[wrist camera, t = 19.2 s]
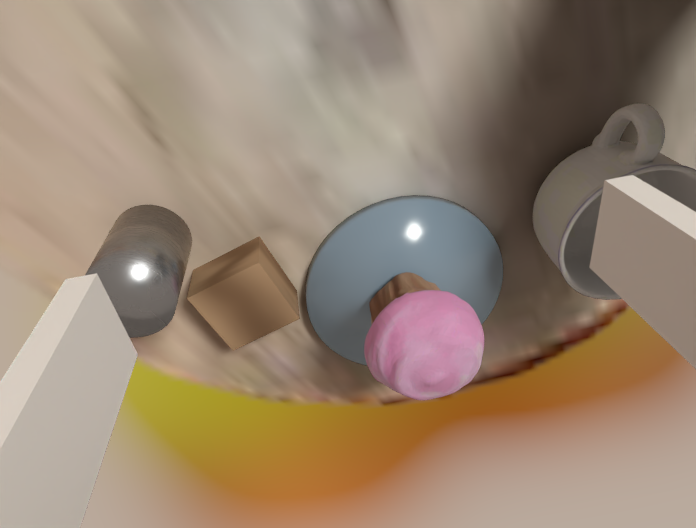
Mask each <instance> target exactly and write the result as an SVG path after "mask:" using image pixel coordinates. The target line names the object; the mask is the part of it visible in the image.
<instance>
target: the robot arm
mask: <svg viewBox="0 0 696 528" xmlns="http://www.w3.org/2000/svg"><path fill="white" fill-rule="evenodd" d="M589 268H590V269H591V270H593V271H594V272H595V273H596V274H597V275H598V276H599V277H600V278H601V279H602V280H603V281H604V282H605V283H606V284H607V285H608V286H609V287H610V288H611V289H612V290H613V291H615V292H616V293H617V294H618V295H619V296H620V297H621V298H622V299H623V300H624V301H625V302H626V303H627V304H628V305H629V306H630V307H631V308H632V309H633V310H634V311H636V312H637V313H638V314H639V315H640V316H641V317H642V318H643V319H644V320H645V321H646V322H647V323H648V324H649V325H650V326H651V327H652V328H653V329H654V330H655V331H656V332H658V333H659V334H660V335H661V336H662V337H663V338H664V339H665V340H666V341H667V342H668V343H669V344H670V345H671V346H672V347H673V348H674V349H675V350H676V351H677V352H679V353H680V354H681V355H682V356H683V357H684V358H685V359H686V360H687V361H688V362H689V363H690V364H691V365H692V366H693V367H694V368H695V369H696V212H695V211H693V210H692V209H690V208H688V207H687V206H685V205H683V204H681V203H680V202H678V201H676V200H675V199H673V198H671V197H670V196H668V195H666V194H664V193H663V192H661V191H659V190H658V189H656V188H654V187H652V186H651V185H649V184H647V183H646V182H644V181H642V180H641V179H639V178H637V177H635V176H634V175H630V176H624V177H619V178H613V179H608V180H605V181H604V187H603V193H602V198H601V204H600V210H599V216H598V221H597V227H596V233H595V238H594V244H593V250H592V256H591V261H590V267H589ZM137 356H138V354H137V352H136V350H135V348H134V346H133V344H132V342H131V340H130V338H129V336H128V334H127V332H126V330H125V328H124V326H123V324H122V322H121V320H120V318H119V316H118V314H117V312H116V310H115V308H114V306H113V304H112V302H111V300H110V298H109V296H108V294H107V292H106V290H105V288H104V286H103V284H102V282H101V280H100V278H99V276H98V274H97V273H96V274H91V275H85V276H80V277H75V278H69V279H65V281H64V283H63V284H62V286H61V287H60V289H59V290H58V292H57V294H56V295H55V297H54V298H53V300H52V301H51V303H50V305H49V306H48V308H47V309H46V311H45V312H44V314H43V316H42V317H41V319H40V320H39V322H38V323H37V325H36V326H35V328H34V330H33V331H32V333H31V334H30V336H29V337H28V339H27V341H26V343H25V344H24V345H23V347H22V348H21V350H20V352H19V353H18V355H17V356H16V358H15V360H14V361H13V363H12V364H11V366H10V367H9V369H8V370H7V372H6V374H5V375H4V377H3V378H2V380H1V381H0V528H80V527H81V524H82V521H83V518H84V515H85V512H86V509H87V506H88V503H89V500H90V497H91V494H92V491H93V488H94V485H95V482H96V479H97V476H98V473H99V470H100V467H101V464H102V461H103V458H104V455H105V452H106V449H107V446H108V443H109V440H110V437H111V434H112V431H113V428H114V425H115V422H116V419H117V416H118V413H119V410H120V407H121V404H122V401H123V398H124V395H125V392H126V389H127V386H128V383H129V379H130V377H131V374H132V371H133V368H134V365H135V362H136V359H137Z"/></svg>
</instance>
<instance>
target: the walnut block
mask: <svg viewBox="0 0 696 528" xmlns="http://www.w3.org/2000/svg"><path fill="white" fill-rule="evenodd" d="M187 299H188V300H189V302H190V303H191V304H192V305H193V306H194V307H195V308H196V309H197V311H198V312H199V313H200V314H201V315H202V316H203V317H204V319H205V320H206V321H207V322H208V323H209V324H210V325H211V326H212V328H213V329H214V330H215V331H216V332H217V333H218V334H219V336H220V337H221V338H222V339H223V340H224V341H225V342H226V344H227V345H228V346H229V347H230V348H231V349H232V350H233V351H234V350H236V349H238V348H240V347H242V346H244V345H246V344H248V343H250V342H252V341H254V340H256V339H258V338H261V337H263V336H265V335H267V334H269V333H271V332H273V331H275V330H277V329H279V328H281V327H283V326H286V325H288V324H290V323H292V322H294V321H296V320H298V319H300V317H299V307H298V297H297V290H296V289H295V287H294V286H293V284H292V283H291V281H290V280H289V279H288V277H287V276H286V274H285V273H284V271H283V270H282V268H281V267H280V266H279V264H278V263H277V261H276V260H275V258H274V257H273V255H272V254H271V253H270V251H269V250H268V248H267V247H266V245H265V244H264V243H263V241H262V240H261V238H260V237H257V238H255V239H253V240H251V241H249V242H247V243H245V244H243V245H242V246H240V247H238V248H236V249H234V250H232V251H230V252H228V253H226V254H224V255H222V256H220V257H218V258H216V259H214V260H212V261H210V262H208V263H206V264H204V265H202V266H200V267H198V268H196V269H194V270H193V274H192V278H191V282H190V287H189V291H188V296H187Z"/></svg>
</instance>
